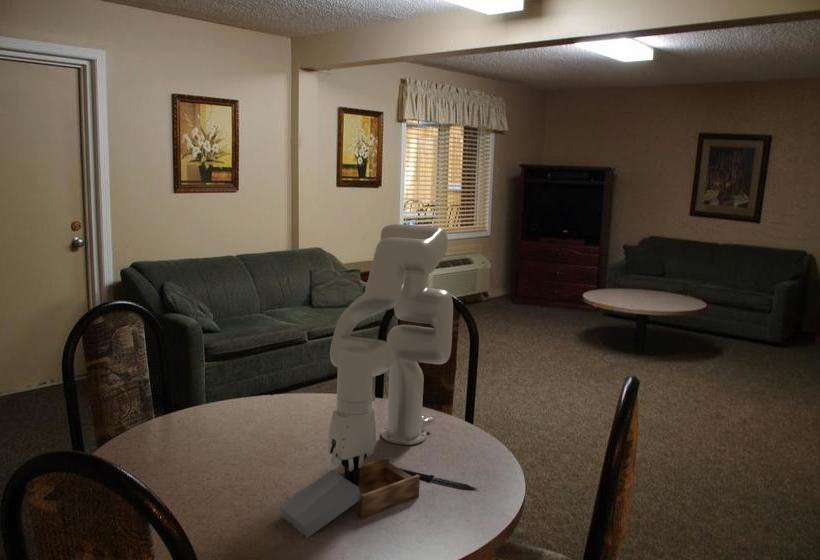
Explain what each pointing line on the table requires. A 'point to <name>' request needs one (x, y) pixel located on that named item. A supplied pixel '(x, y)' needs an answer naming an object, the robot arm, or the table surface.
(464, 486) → the knife
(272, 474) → the table surface
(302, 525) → the cover plate
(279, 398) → the table surface
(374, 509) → the walnut box
